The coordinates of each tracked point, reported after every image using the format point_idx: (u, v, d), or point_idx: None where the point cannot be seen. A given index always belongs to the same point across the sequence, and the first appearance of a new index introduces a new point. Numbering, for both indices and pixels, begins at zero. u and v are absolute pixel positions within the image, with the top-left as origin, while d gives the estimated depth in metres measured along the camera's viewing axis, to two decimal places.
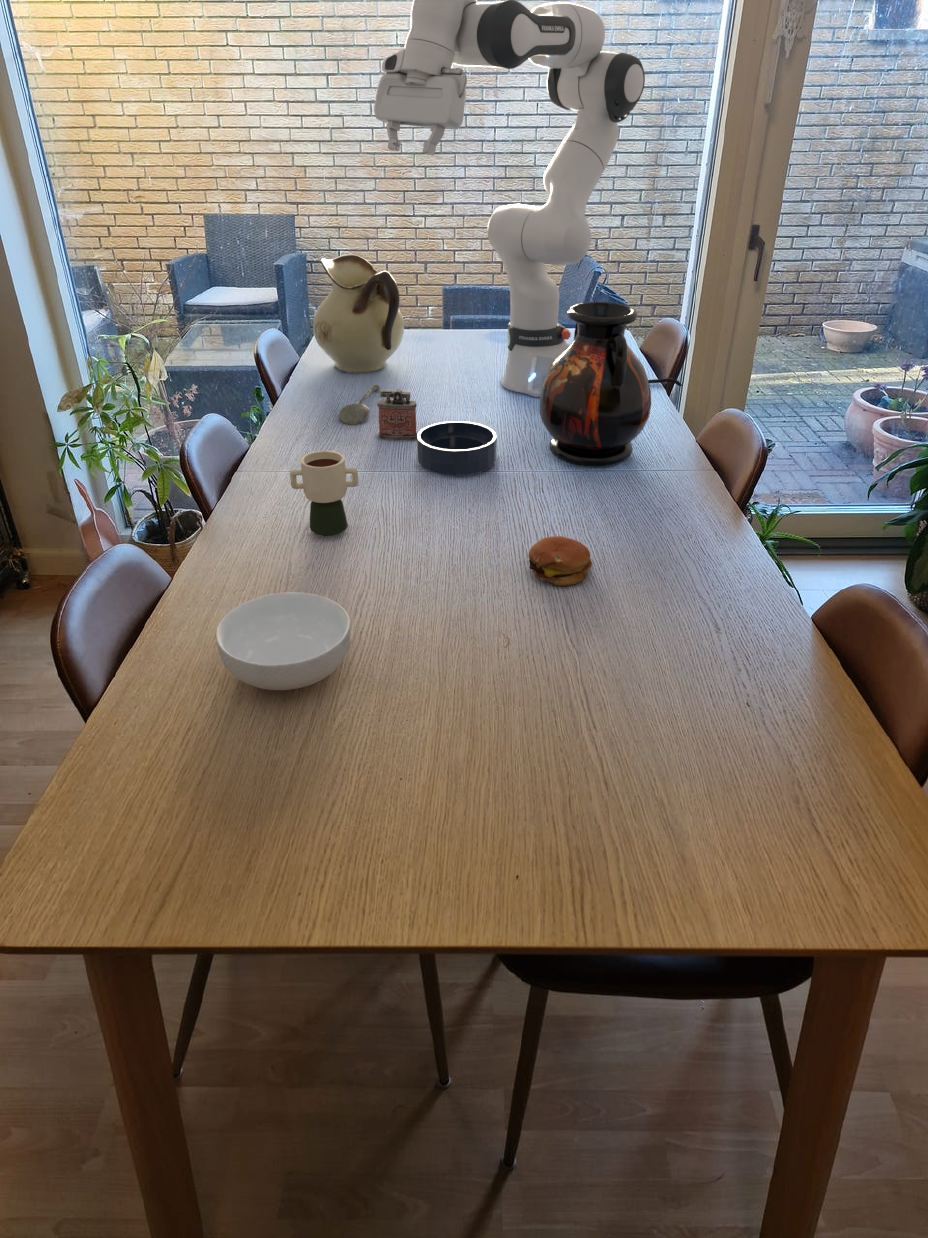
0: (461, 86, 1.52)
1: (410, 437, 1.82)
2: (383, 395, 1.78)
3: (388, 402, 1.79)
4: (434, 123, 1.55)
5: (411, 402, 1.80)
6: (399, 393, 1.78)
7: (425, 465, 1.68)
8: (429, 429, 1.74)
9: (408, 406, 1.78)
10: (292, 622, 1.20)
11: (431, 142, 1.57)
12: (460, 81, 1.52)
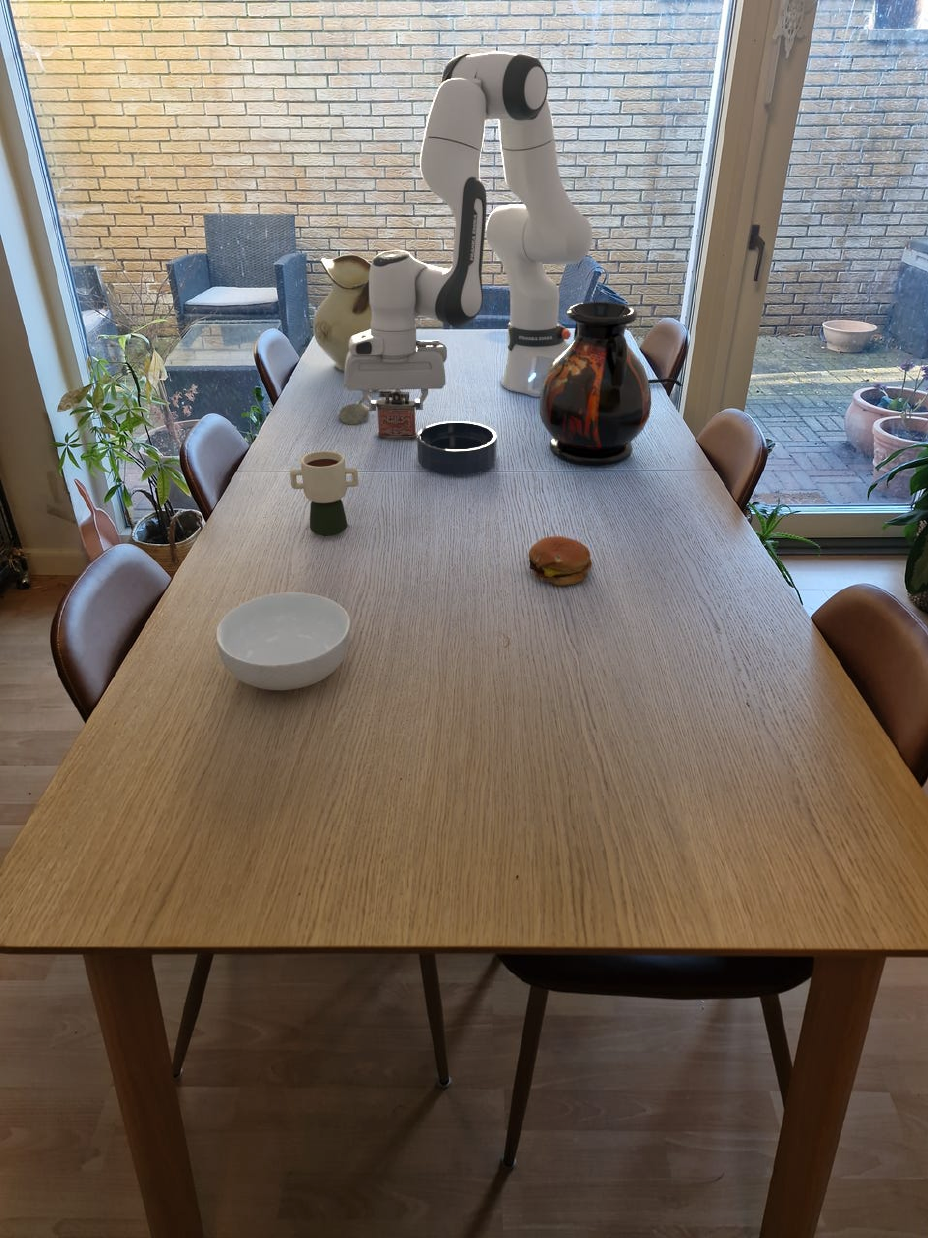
0: (444, 355, 1.75)
1: (409, 438, 1.82)
2: (382, 395, 1.78)
3: (387, 402, 1.79)
4: (425, 388, 1.77)
5: (410, 402, 1.80)
6: (398, 393, 1.78)
7: (425, 465, 1.68)
8: (429, 429, 1.74)
9: (407, 407, 1.78)
10: (292, 622, 1.20)
11: (422, 401, 1.79)
12: (442, 351, 1.74)
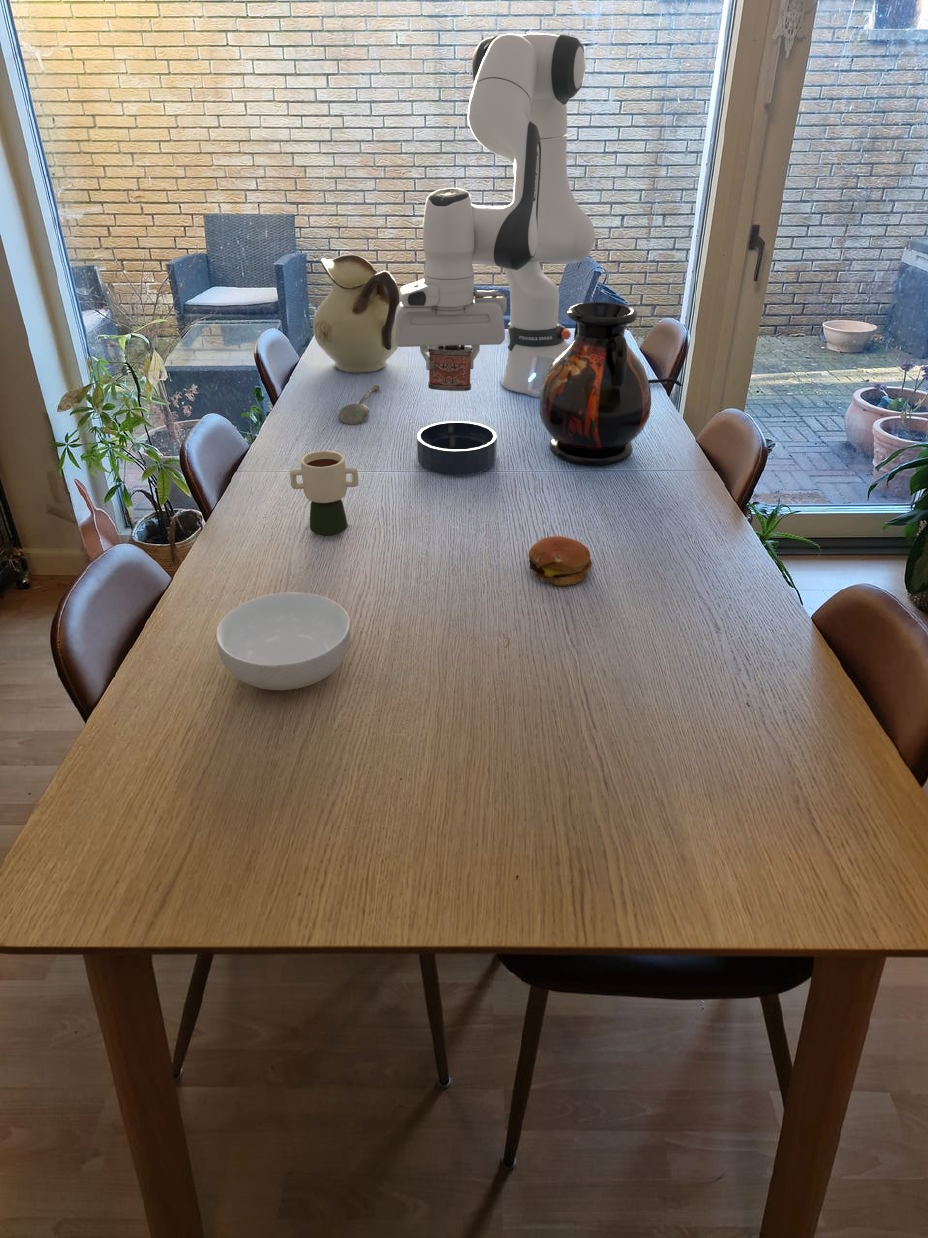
0: (504, 307, 1.59)
1: (463, 388, 1.65)
2: None
3: (440, 347, 1.62)
4: (483, 344, 1.61)
5: (466, 348, 1.62)
6: None
7: (425, 465, 1.68)
8: (429, 429, 1.74)
9: (463, 352, 1.61)
10: (292, 622, 1.20)
11: None
12: (502, 303, 1.58)
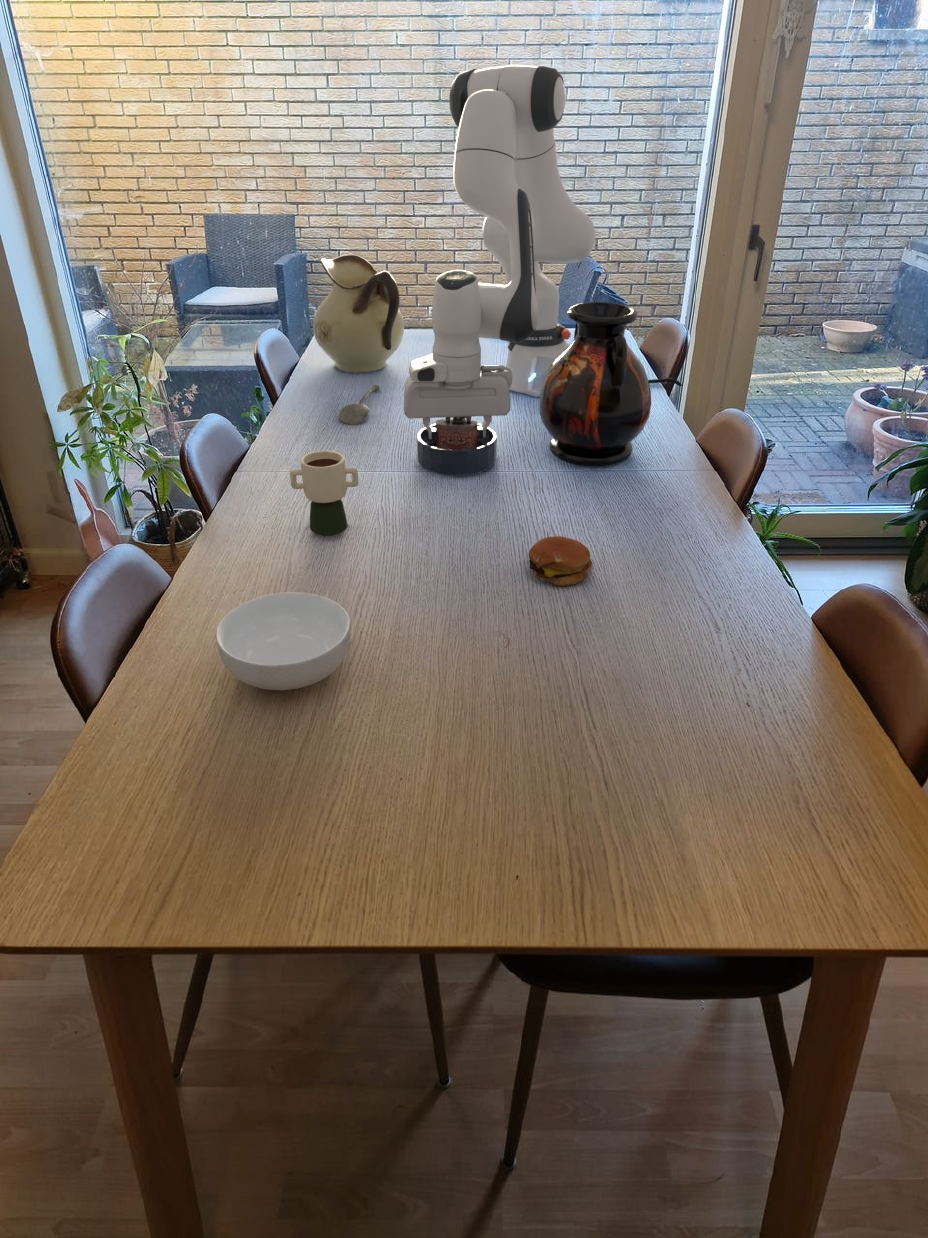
0: (510, 380, 1.65)
1: None
2: None
3: (448, 422, 1.68)
4: (489, 415, 1.67)
5: (472, 422, 1.69)
6: None
7: (425, 465, 1.68)
8: None
9: (469, 427, 1.67)
10: (292, 622, 1.20)
11: (485, 428, 1.69)
12: (507, 377, 1.64)
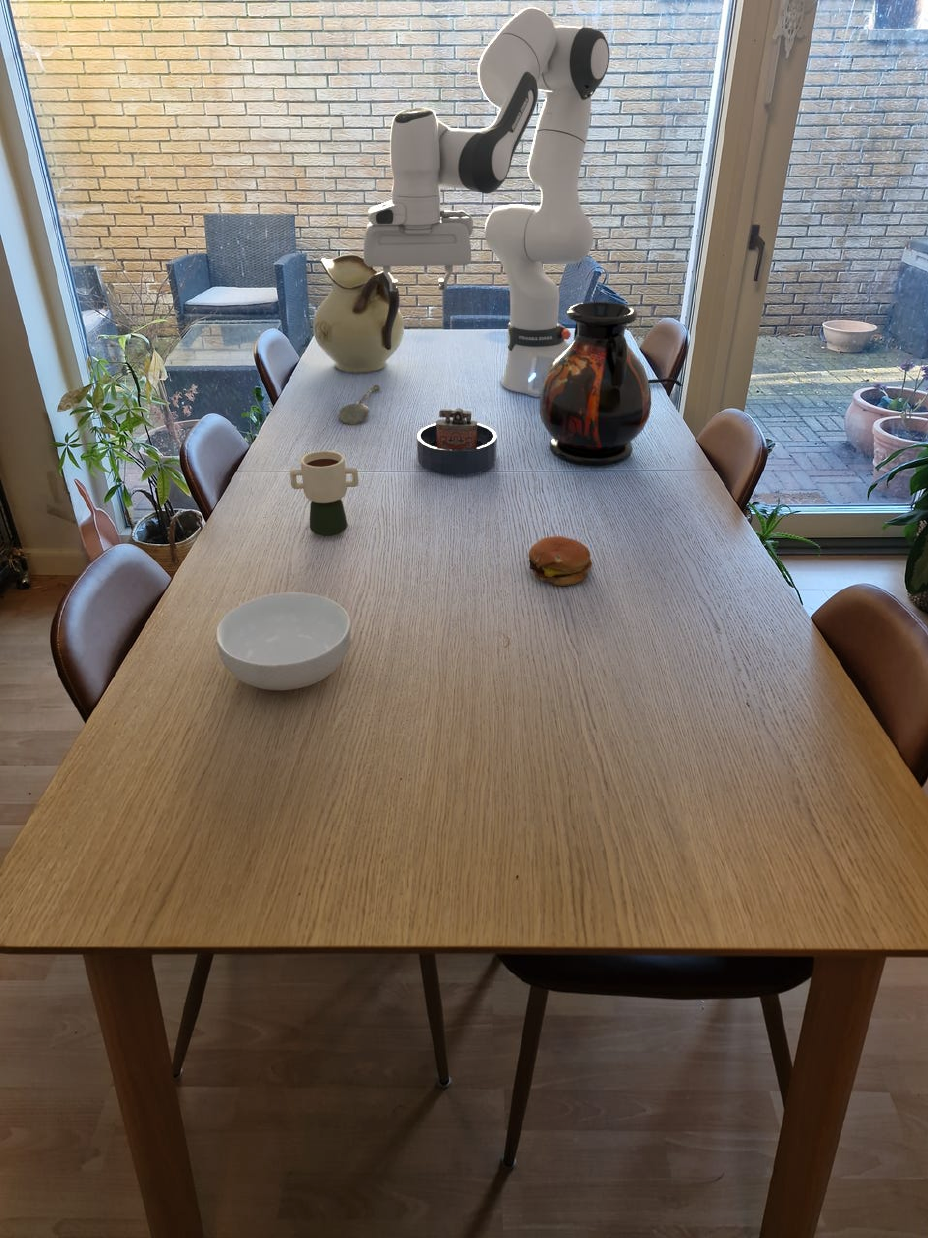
0: (470, 228, 1.64)
1: None
2: (442, 415, 1.67)
3: (447, 422, 1.68)
4: (450, 265, 1.66)
5: (472, 422, 1.69)
6: (460, 413, 1.67)
7: (425, 465, 1.68)
8: (429, 429, 1.74)
9: (469, 427, 1.67)
10: (292, 622, 1.20)
11: (447, 280, 1.68)
12: (468, 223, 1.63)
